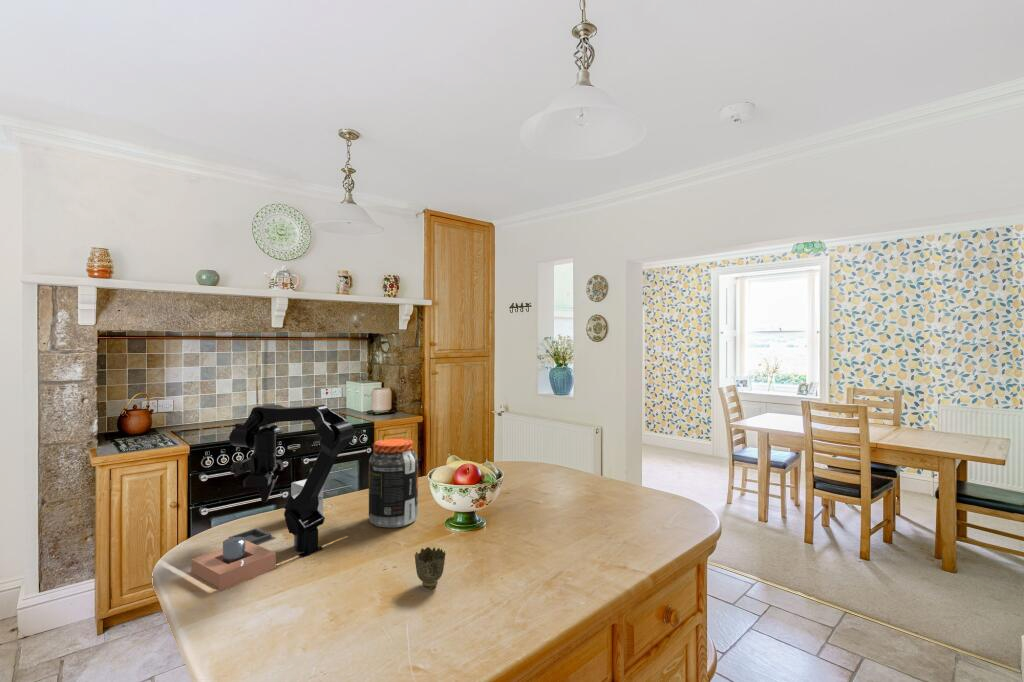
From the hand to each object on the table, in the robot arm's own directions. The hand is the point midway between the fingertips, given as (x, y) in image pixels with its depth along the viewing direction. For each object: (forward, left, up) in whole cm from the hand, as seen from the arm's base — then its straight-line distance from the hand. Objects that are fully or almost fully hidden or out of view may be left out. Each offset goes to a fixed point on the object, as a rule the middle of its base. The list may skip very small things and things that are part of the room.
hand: (264, 502), depth 145 cm
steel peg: (-10, +14, -12) cm, 21 cm away
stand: (+4, +2, -12) cm, 13 cm away
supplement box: (+6, -18, -12) cm, 23 cm away
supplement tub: (-17, -34, -12) cm, 40 cm away
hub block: (-10, +14, -12) cm, 21 cm away
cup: (-56, -9, -12) cm, 58 cm away
